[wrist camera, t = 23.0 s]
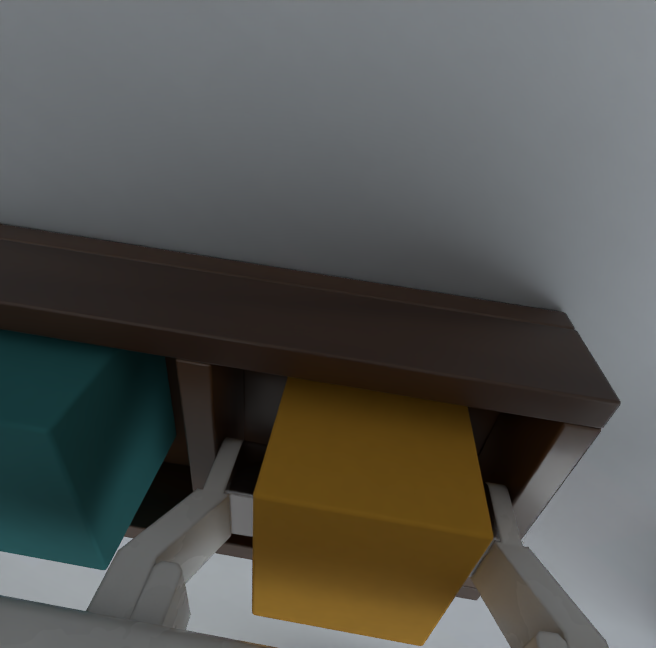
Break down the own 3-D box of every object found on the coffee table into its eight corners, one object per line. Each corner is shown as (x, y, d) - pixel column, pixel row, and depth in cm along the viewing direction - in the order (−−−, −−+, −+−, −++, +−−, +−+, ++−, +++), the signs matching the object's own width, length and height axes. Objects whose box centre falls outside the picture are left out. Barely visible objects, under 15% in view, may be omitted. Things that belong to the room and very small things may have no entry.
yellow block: (296, 345, 11) (252, 495, 8) (462, 372, 11) (495, 538, 8) (286, 468, 15) (251, 615, 11) (415, 491, 14) (423, 647, 11)
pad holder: (-75, 210, 12) (-215, 266, 9) (565, 311, 11) (623, 403, 8) (27, 430, 17) (-43, 507, 14) (462, 506, 16) (477, 601, 14)
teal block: (-3, 275, 12) (-186, 391, 8) (158, 302, 11) (47, 432, 8) (51, 413, 15) (-61, 541, 11) (177, 435, 15) (106, 572, 11)
